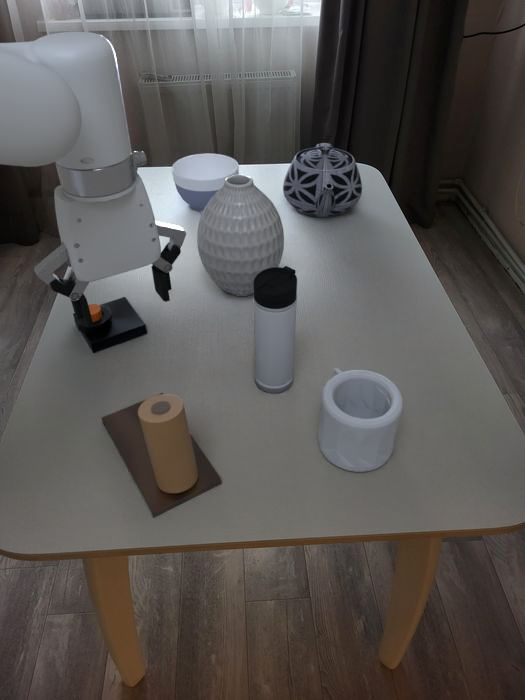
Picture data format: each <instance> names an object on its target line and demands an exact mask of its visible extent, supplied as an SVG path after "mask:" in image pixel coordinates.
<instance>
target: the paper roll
mask: <svg viewBox="0 0 525 700" xmlns="http://www.w3.org/2000/svg"><path fill="white" fill-rule="evenodd" d="M159 394H160V395H158V394H156V395H154V396H151V397H148V398H149V399H148V398H146V399H147V400H146V399H145V400H146V401H144V400H143V401H144V402H143V403H142V404H141V405H140V407H139V409H138V416H139V419H140V423H141V427H142V430H143V434H144V438H145V442H146V445H147V449H148V453H149V456H150V460H151V464H152V467H153V471H154V475H155V478H156V482H157V485H158V487H159V488H160V489H161V490H162V491H164V492H167V493H180V492H183V491H186V490H188V489H189V488H191V487H192V486H193V485H194V484H195V483H196V481H197V479H198V470H197V465H196V460H195V456H194V451H193V446H192V441H191V437H190V434H191V432H190V428H189V423H188V418H187V413H186V409H185V404H184V401H183V399H182V398H181V397H179V396H178V395H176V394H172V393H163V394H161V393H159Z"/></svg>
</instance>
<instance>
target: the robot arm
mask: <svg viewBox="0 0 525 700" xmlns="http://www.w3.org/2000/svg"><path fill="white" fill-rule="evenodd" d="M120 77H121V76H120V72H119V66H118V61H117V56H116V52H115V49H114V47H113V45H112V43H111V41H109V40H108V39H107V38H106V37H105V36H103V35H102V34H98V33H95V32H90V31H62V32H54V33H50V34H46V35H43V36H41V37H38V38H37V39H36V40H31V41H18V42H17V41H15V42H0V165H4V166H12V167H13V166H15V167H26V168H27V167H29V168H31V167H32V168H33V167H42V166H47V165H50V164H53V163H54V164H55V167H56V171H57V174H58V175H57V176H58V179H59V182H60V185H58V186H56V187H55V188H54V191H53V193H54V194H53V197H54V209H55V210H54V211H55V217H56V221H57V222H56V223H57V224H56V225H57V228H58V234H59V238H60V242H61V243H60V245H59V246H58V247H57V248H55V249H54V250H53V251H52V252H51V253H49V254H48V255H47V256H46V257H45V258H43V259H42V260H41V261H40V262H38V263H37V264H36V265H35V266H34V268H33V270H34V273H35V275H36V277H37V278H38V279H39V280H41V281H42V282H43V283H44V284H45V285H46V286H48V287H49V288H50V289H51V290H52V292H55V293H57V294H60V295H62V296H65V297H67V298H69V300H70V302H71V305H72V310H73V313H75V315H76V317H77V319H78V320H79V319H82V318H83V320H84V322H85V324H86V325H87V327H91V326H92V325H93V321H92V317H91V313H90V310H89V306H88V305H89V302H88V300H87V298H86V296H85V294H84V292H85V291H86V289H87V287H88V285H89V284H90V282H96V281H100V280H103V279H106V278H111V277H113V276H117V275H121V274H124V273H127V272H130V271H134V270H137V269H140V268H144V267H147V266H150V265H151V272H152V280H153V284H154V290H155V292H156V294H157V295H158V297H160V299H161V300H162V301H163V302H164V303H167V302H170V301H171V298H170V291H172V289H173V288H172V283H171V281H172V280H171V274H170V273H171V272H172V271H173V265H174V263H175V262H176V260H178V258H179V256H180V255H181V253H182V249H181V248H182V247H183V245H184V242H185V239H186V236H187V232H186V230H185V229H184V228H183V227H182V226H180V225H176V224H171V223H167V222H162V221H158V220H156V218H155V214H154V209H153V208H152V203H151V200H150V197H149V194H148V192H147V189H146V186H145V184H144V181H143V179H142V177H141V175H139V173H138V170H139V168H141V166H144V165H147V164H148V159H147V156H146V155H147V154H146V153H145V151H144V150H142V151H136V150H132V145H131V139H130V133H129V125H128V119H127V115H126V108H125V101H124V97H123V91H122V83H121V79H120ZM160 237H164V238H168V240H169V242H167V243H166V245H165V246H164V247H163V248H162V246H161V241H160ZM65 263H66V264H67V266H68V267H69V268H71V269H70V271H69V273H68V274H67V277H66V278H63V277H61V276H58V275H57V274H55V271H57V270H59V268H60V267H62V266H63V265H64V264H65Z"/></svg>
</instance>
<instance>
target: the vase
mask: <svg viewBox="0 0 525 700" xmlns="http://www.w3.org/2000/svg"><path fill="white" fill-rule="evenodd" d="M284 233H285V232H284V227H283V223H282V218H281V215H280V214H279V212H278V209H277V207H276V206H275V204H274V203H273V201H272V200H271V199H270V198H269V197H268V196H267V195H266V194H265V193H264V192H263V191H262V190H261V189H260V188H258V187H257V186H256V185H255V183H254V179H253V178H252V177H250V176H249V175H246V174H239V175H233V176H229V177H228V178H226V179H225V181H224V186H223V187H222V188H221V189H220V190H219V191H218V192H217V193H216V194H215V195H214V196H213V197H212V198H211V199H210V200H209V202H208V203H207V204H206V206H205V208H204V210H203V212H201V215H200V218H199V221H198V225H197V233H196V234H197V235H196V243H197V251H198V254H199V259H200V262H201V264H202V266H203V268H204V270H205V272H206V273H207V275H208V276H209V277H210V278H211V280H212V281H213V282H214V283H215V284H216V285H217V286H218V287H219V288H221V289H222V290H223V291H225V292H226V293H228V294H230V295H233V296H235V297H247V296H253V295H254V287H253V282H254V278H255V277H256V275H257V274H259V273H260V272H261V271H263V270H265V269H268V268H273V267H280V264H281V262H282V259H283V254H284V249H285V248H284V247H285V234H284Z"/></svg>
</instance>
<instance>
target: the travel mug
mask: <svg viewBox="0 0 525 700" xmlns="http://www.w3.org/2000/svg"><path fill="white" fill-rule="evenodd" d="M253 287H254V294H252V296H253V297H252V300H253V303H252V305H253V306H252V308H253V311H252V312H253V352H254V353H253V360H254V361H253V363H254V364H253V367H254V383H255V385H256V386H257V388H258V389H260V391H263V392H265V393H268V394H269V393H270V394H280V393H283V392H285V391H287V390H288V389H290V388H291V387H292V385H293V382H294V370H295V369H294V367H295V364H294V363H295V349H296V348H295V345H296V326H297V325H296V324H297V323H296V322H297V301H298V297H297V296H298V295H297V294H298V293H297V292H298V277H297V275H296V269H294V268H292V267H290V266H288V265H284V266H283V267H280V266H278V267H273V268H268V269H265V270H263V271H261V272H260V273H259V274H257V275H256V277H255V278H254V282H253Z"/></svg>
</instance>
